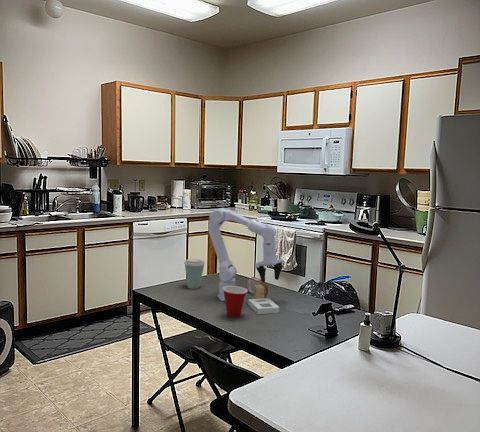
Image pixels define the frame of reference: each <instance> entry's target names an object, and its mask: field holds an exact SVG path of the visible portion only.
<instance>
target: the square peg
mask: <svg viewBox="0 0 480 432" xmlns="http://www.w3.org/2000/svg"><path fill="white" fill-rule="evenodd" d="M264 289H265V287H264V286H262V285H255V286H254V294H253V299H262V298H265V297H264Z"/></svg>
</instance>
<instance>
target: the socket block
mask: <svg viewBox="0 0 480 432" xmlns="http://www.w3.org/2000/svg"><path fill="white" fill-rule="evenodd" d="M247 305H248V306H249V307H250V309H252V310H253V312H255V313H256V314H257V315H265V314H266V315H267V314H269V315H270V314H278V313H279V314H280V306H279V305H278V304H276V303H275V302H274V301H273V300H271V298H269V297H264V298H262V299H254V298H250V299H247Z"/></svg>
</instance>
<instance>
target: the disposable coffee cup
mask: <svg viewBox="0 0 480 432" xmlns="http://www.w3.org/2000/svg"><path fill="white" fill-rule="evenodd" d="M204 267H205V260H203V259H200V258H199V259H197V258H190V259H189V258H188V259H186V260H185V261H184V268H185V277H186V278H185V279H186V286H187V288H188V289H192V290H194V289H195V290H196V289H200V287H201V283H202V277H203V272H204Z"/></svg>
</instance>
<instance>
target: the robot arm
mask: <svg viewBox="0 0 480 432" xmlns="http://www.w3.org/2000/svg"><path fill="white" fill-rule="evenodd" d="M208 216H209V221H208V224H207V225H208V226H207V229H208V232H209V236H210V239H211V242H212V246H213V249H214V251H215V255H216V257H217V261H218V271H219V273H218V277H219V279H220V281H219V283H218V285H219V286H218V294H216V296H217V298H218V299H219V300H220V301H221V302H225V296H224V291H223V287H225V286H236V278H235V277H236V276H237V273H238V270H237V268H236V266H234V264H233V261H232V260H230V258H229V253H228V251H227V247H226V244H225V241H224V238H223V236H222V232H221V227H222V225H223V224H224V223H225V222H227V221H233V222H236V223H237V224H240V225H243V226H245V227H247V229H248V231H250V232H252V233H254V234H257V235H259V236H261V237H262V240H263V242H262V247H263V248H262V253H263V256H262V257H263V261H262V260H261V261H259V262H255V268H256V271H257V272H258V275H259V279H261V282H265V283H266V271H267V268H266V267H270V266H273V272H274V280H277V281H279V279H280V274H281V272H282V269H283V268H284V259H281V258H280V259H277V258H276V257H277V256H276V255H277V254H276V251H277V250H276V235H277V230H276V228H275V227H274V226H272V225H269V224H268V223H264V222H261V221H260V220H259V219H257V218H256V219H255V218H253V219H248V218H247V217H244V216H243V215H241V214H238V213H237V212H234V211H233V210H232V209H227V208H226V207H221V208H217V209H213V210H212V212H210V215H208Z"/></svg>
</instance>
